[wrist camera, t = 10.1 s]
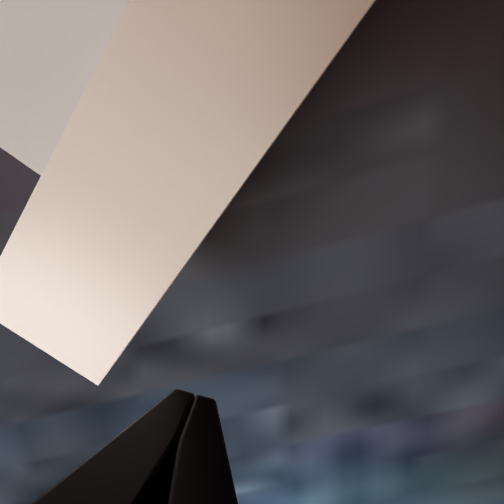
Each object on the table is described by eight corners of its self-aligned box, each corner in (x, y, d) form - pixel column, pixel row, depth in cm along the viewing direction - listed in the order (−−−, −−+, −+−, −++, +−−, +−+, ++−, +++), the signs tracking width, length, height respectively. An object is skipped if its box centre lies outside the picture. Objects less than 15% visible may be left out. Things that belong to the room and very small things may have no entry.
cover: (446, -100, 9) (497, -173, 7) (119, 356, 15) (89, 397, 13) (294, -241, 9) (297, -368, 7) (12, 286, 14) (-40, 315, 12)
